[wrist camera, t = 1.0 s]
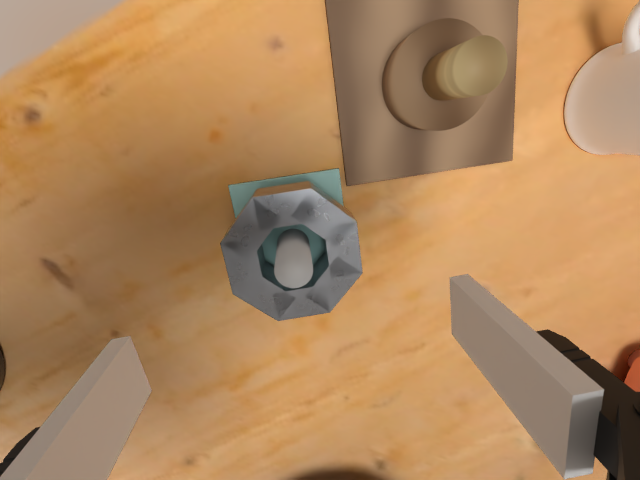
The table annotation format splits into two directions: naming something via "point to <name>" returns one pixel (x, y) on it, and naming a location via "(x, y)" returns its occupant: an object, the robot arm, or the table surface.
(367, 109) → the hub
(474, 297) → the robot arm
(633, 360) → the teapot
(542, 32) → the table surface
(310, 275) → the stand
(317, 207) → the clutch ring
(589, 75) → the mug
